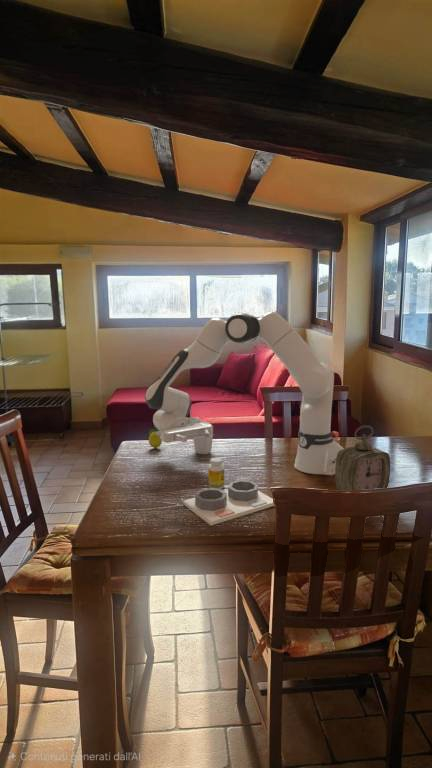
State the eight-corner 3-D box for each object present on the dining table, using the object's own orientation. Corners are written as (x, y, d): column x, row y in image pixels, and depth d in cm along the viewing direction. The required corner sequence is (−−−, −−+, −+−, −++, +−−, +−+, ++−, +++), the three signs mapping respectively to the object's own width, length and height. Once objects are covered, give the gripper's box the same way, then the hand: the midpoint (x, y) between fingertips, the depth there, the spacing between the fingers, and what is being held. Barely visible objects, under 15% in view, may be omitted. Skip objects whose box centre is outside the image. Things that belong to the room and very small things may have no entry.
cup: (196, 446, 198) (196, 428, 197) (215, 447, 197) (215, 429, 196) (191, 455, 188) (191, 436, 186) (211, 456, 187) (211, 437, 185)
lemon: (164, 450, 194) (163, 427, 192) (150, 451, 192) (149, 428, 190) (161, 445, 200) (160, 423, 198) (147, 446, 198) (147, 424, 197)
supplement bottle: (210, 482, 161) (210, 456, 159) (225, 484, 159) (225, 457, 158) (206, 489, 155) (206, 461, 154) (222, 490, 154) (222, 462, 152)
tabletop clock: (349, 514, 137) (354, 432, 133) (330, 501, 146) (334, 424, 141) (387, 505, 143) (393, 426, 138) (367, 493, 151) (372, 419, 147)
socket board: (246, 487, 157) (246, 475, 156) (277, 504, 143) (277, 492, 143) (183, 504, 144) (183, 491, 143) (211, 525, 131) (210, 511, 130)
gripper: (153, 423, 170) (170, 433, 159) (201, 416, 181) (220, 425, 170) (153, 440, 171) (170, 451, 160) (201, 432, 182) (220, 441, 171)
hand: (197, 437), depth 165 cm, fingers open, 8 cm apart
